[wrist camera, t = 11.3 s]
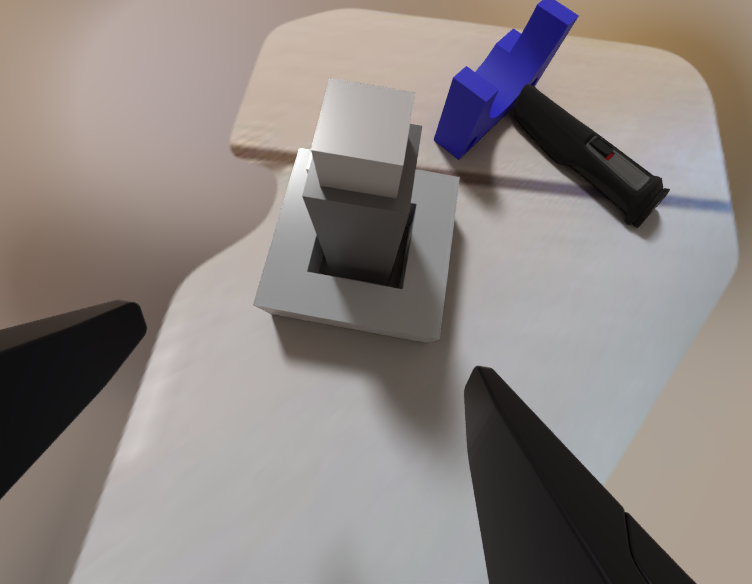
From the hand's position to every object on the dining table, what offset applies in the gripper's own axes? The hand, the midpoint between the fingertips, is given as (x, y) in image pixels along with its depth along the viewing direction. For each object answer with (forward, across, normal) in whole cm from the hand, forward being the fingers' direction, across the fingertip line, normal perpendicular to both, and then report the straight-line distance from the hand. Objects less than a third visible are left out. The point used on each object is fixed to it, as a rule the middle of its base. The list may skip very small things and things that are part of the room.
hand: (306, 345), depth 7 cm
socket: (+15, 0, +4) cm, 16 cm away
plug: (+15, 0, +4) cm, 16 cm away
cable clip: (+27, -8, -8) cm, 30 cm away
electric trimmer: (+24, -18, -5) cm, 30 cm away
